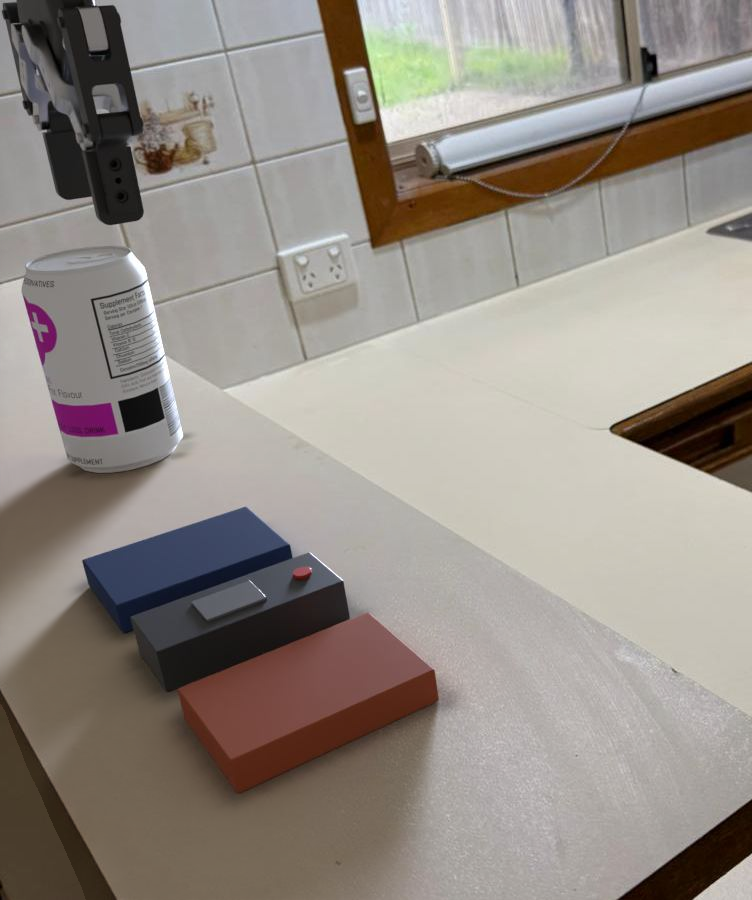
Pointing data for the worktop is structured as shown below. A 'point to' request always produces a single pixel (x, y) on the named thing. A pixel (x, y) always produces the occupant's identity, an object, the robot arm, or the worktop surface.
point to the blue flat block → (182, 563)
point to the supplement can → (102, 357)
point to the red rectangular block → (306, 699)
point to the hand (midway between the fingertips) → (99, 209)
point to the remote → (239, 620)
